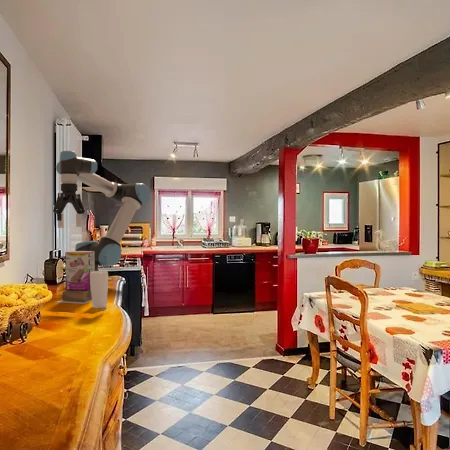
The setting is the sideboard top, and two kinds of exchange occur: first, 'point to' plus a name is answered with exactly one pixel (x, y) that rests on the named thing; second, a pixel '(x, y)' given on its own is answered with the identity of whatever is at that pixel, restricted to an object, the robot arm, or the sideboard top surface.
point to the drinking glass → (99, 288)
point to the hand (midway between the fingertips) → (70, 227)
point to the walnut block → (76, 295)
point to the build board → (75, 302)
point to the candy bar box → (79, 269)
